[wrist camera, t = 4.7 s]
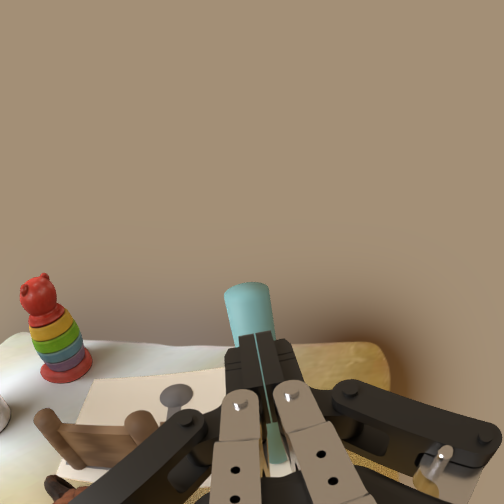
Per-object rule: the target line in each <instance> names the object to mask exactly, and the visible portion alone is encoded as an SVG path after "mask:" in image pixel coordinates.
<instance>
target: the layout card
mask: <svg viewBox="0 0 504 504" xmlns="http://www.w3.org/2000/svg"><path fill="white" fill-rule="evenodd" d="M225 396H226V385H225V367H221V368H214V369H207V370H200V371H192V372H183V373H174V374H165V375H154V376H142V377H128V378H110V379H94V381H93V383H92V386H91V388H90V390H89V392H88V395H87V397H86V399H85V402H84V404H83V406H82V409H81V411H80V413H79V416H78V418H77V421H76V423H75V424H80V425H101V426H124V421H125V419H126V417H127V416H128V415H129V414H131V413H132V412H135V411H138V410H146V411H148V412H150V413H151V414H152V415H153V417H154V419H155V421H156V423H157V424H158V426H159V427H160V422H166V421H167V420H168V419H169V418H170V417H171V416H172V415H173V414H175V413H176V412H178V411H180V410H183V409H195V410H198V411H200V412H201V413H202V414H204V413H207V412H210V411H212V410H214V409H216V408H218V407H219V406H220V405H221V404H222V401H223V399H224V397H225ZM269 465H270V476H271V477H283V476H286V475H288V474H291V473H292V471H291V467H290V464H289V461H288V460H286V461H285V462H283V463H280V464H271V463H269ZM110 469H111V468H106V467H96V466H86V468H84V469H82V470H75V469H73V468H72V467H71V466H70V465H69V464H68V463H67V462H66V461H65V460H64V458H63V457H62V460H61V462H60V465H59V468H58V471H57V474H56V475H57V476H59V477H61V478H65V479H70V480H76V481H82V482H88V483H94V482H95V481H96V480H98V479H99V478H100V477H101V476H103V475H104V474H105V473H106V472H108V471H109V470H110ZM210 486H211V475H210V476H209V477H208V478H207V479H206V480H205V481H204V483H203V484H202V485H201V486H200V487H199V488H206V487H210Z"/></svg>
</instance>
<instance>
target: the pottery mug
mask: <svg viewBox="0 0 504 504" xmlns="http://www.w3.org/2000/svg"><path fill="white" fill-rule="evenodd" d="M44 486H45V490H46V491H47V493H48V494H49V495H50V496H51V497H52V499H53V501H54V503H53V504H68V503H69V502H70V501H71V500H72V499H73V498H75V497H76V496H77V495H79V494H80V493H81V492H82V491H84V490H85V489H86V488H88V487H89V486H83V487H78V488H77V489H75V488H74V487H73V486H72V485H71V484H69V483H68V482H67V481H65V480H64V479H62V478H61V477H59V476H57V475H50V476H47V477H46V480H45V482H44Z"/></svg>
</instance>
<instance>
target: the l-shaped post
mask: <svg viewBox="0 0 504 504" xmlns="http://www.w3.org/2000/svg"><path fill="white" fill-rule="evenodd" d="M224 299H225V303H226V308H227V312H228V317H229V321H230V326H231V330H232V334H233V339H234V343H235V348H236V347H239V339H238V336H242V335H247V334H253V333H254V337H255V342H256V348H257V353H258V358H259V363H260V368H261V374H262V379H263V384H264V389H265V395H266V400H267V405H268V410H269V415H270V421H271V423H270V424H266V426H267V431H268V434H267V439H268V451H269V463H271V464H280V463H283V462H285V461H286V460H288V458H287V455H286V452H285V449H284V446H283V443H282V440H281V437H280V432H279V427H278V422H275V423H273V422H272V417H271V412H270V407H269V402H268V397H267V392H266V387H265V382H264V377H263V372H262V366H261V361H260V356H259V351H258V345H257V340H256V335H255V333H258V332H263V331H269V330H271V333H272V336H273V340H276V337H275V330H274V323H273V315H272V308H271V302H270V295H269V288H268V286H267V285H265V284H262V283H258V282H247V283H242V284H238V285H236V286H233V287H231V288H230V289H228V290H227V291H226V292H225V294H224ZM163 423H165V422H160V426H161V425H162V424H163Z"/></svg>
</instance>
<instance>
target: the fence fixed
mask: <svg viewBox="0 0 504 504" xmlns="http://www.w3.org/2000/svg"><path fill="white" fill-rule="evenodd" d="M33 421H34V424H35V425H36V427H37V428H38V429H39V430H40V432H41V433H42V434H43V435H44V437H45V438H46V439H47V440H48V441H49V443H50V444H51V445H52V446H53V447H54V448H55V450H56V451H57V452H58V453H59V454H60V455H61V456H62V457H63V458H64V460H65V461H66V462H67V463H68V464H69V465H70V466H71V467H72V468H73V469H75V470H82V469H84V468H86V466H96V467H106V468H112V467H114V466H115V465H116V464H117V463H118V462H120V461H121V460H122V459H123V458H124V457H126V456H127V455H128V454H129V453H130V452H132V451H133V450H134V449H135V448H136V447H137V446H139V445H140V444H141V443H142V442H143V441H144V440H145V439H147V438H148V437H149V436H150V435H151V434H152V433H153V432H154V431H156V430H157V429H158V428H159V426H158V424H157V423H156V421H155V419H154V417H153V415H152V414H151V413H150V412H148V411H146V410H138V411H135V412H132V413H131V414H129V415H128V416H127V417H126V419H125V421H124V426H101V425H80V424H67V423H62V422H61V421H60V419H59V418H58V417H57V415H56V414H55V413H54V411H53V410H52V409H50V408H45V409H42V410H40V411H39V412H37V413H36V415H35V416H34V420H33Z"/></svg>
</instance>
